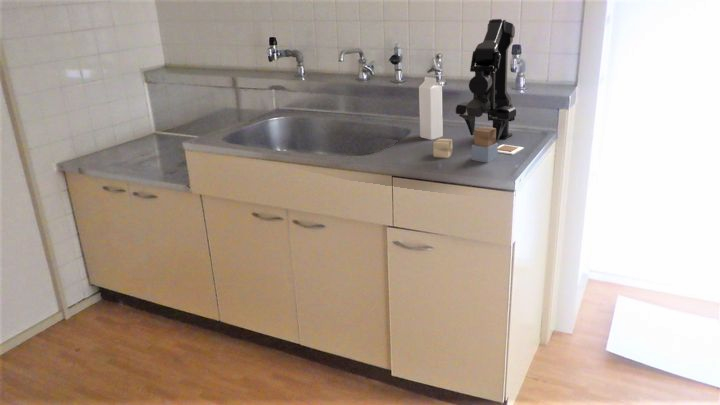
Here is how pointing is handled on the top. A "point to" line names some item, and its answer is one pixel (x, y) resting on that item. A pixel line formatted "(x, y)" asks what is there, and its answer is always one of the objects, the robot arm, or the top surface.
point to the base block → (485, 153)
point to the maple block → (442, 148)
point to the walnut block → (485, 136)
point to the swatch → (509, 149)
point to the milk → (430, 109)
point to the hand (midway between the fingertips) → (484, 136)
